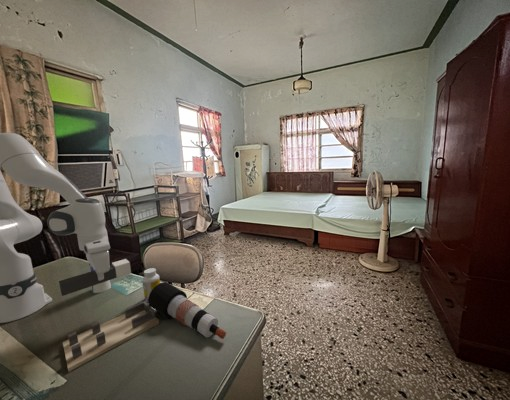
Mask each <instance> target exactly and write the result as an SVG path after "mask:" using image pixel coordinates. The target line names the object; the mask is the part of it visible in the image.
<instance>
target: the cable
mask: <svg viewBox="0 0 510 400" xmlns="http://www.w3.org/2000/svg"><path fill="white" fill-rule="evenodd" d="M187 296H188V295H187V293H186V292H185V291H183V290H181V289H180V288H178V287H176V286H174V285H173V284H172V283H169V282H166V281H162V282H160V284H158V285H157V286H155V287H154V288H153V290H152V291H151V293H150V295H149V298H148V302H147V303H148V304H149V305H150V306H151V307H152V308H153V309H154V311H156V312H158V313H159V314H161V315H162V316H163V317H165V318H166V319H169V320H172V319H176V320H177V321H178V322H180V323H181V324H182V325H184V326H187V327H189V328H190V329H193V330H194V331H196V332H197V333H200V334H201V335H203V336H204V337H205V338H207V339H208V338H210V337H212V335H214V336H217V337H219V339H222V340H223V339H225V337H226V335H227V332H226V331H225V330H224V329H222V328H221V327H219V326H218V325H219V320H218V318H216V317H214V316H213V315H211V314H210V312H207V311H205V310H204V309H203V308H201V307H200V306H199V305H197V304H196V303H195V302H193V301H191V300H190V299H188V297H187Z"/></svg>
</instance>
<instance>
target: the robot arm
mask: <svg viewBox="0 0 510 400" xmlns="http://www.w3.org/2000/svg"><path fill="white" fill-rule="evenodd" d="M1 168H2V170H3V171H4V172H5V174H7V176H8V177H9V178H10V179H11V180H12V181H14V182H16V183H17V184H20V185H23V186H25V187H31V188H40V189H45V190H50V191H52V192H55V193H56V194H59V195H60V196H61V197H62V198H63V199H64V200H65V201H66V202H67V203H68V204H69V205H67V206H65V207H61V208H60V209H57V210H55V211H54V210H53V211H51V213H50V214H49V215H48V217H47V228H48V229H49V231H50V232H51V233H53V234H54V235H56V236H60V237H62V236H63V237H64V236H69V235H72V234H73V235H74V234H76V237H77V242H78V248H79V251H82V252H84V254H85V257H87V258H86V259H87V260H86V261H88V264H89V263H90V265H91V266H92V267H93V270H94V271H95V272H96V273H97V278H98V280H99V281H100V280H103V279H104V273H105V272H108V271H109V268H110V266H111V265H110V263H111V262H110V251H109V250H110V249H111V245H110V241H109V236H108V230H107V228H106V220H107V219H106V214H105V209H104V206H103V204H102V203H101V201H100V199H97V198H92V197H91V198H90V197H88V196H86V195H85V194H84V192H83V191H82V190H80V188H79V187H78V186H77V185H76V184H75V183H74V182H72V180H71V179H70V178H69V177H67V176H66V175H65V174H63V173H62V172H60V171H58V170H57V169H56V168H54V167H53V166H52V165H50V163H49V162H47V161H46V159H45V158H44V157H43V156H42V154H40V152H39V151H38V150H37V149H36V148H35V146H33V145H32V143H30V142H29V141H28V140H27V139H26V138H25V137H23V135H21V134H18V133H15V132H0V324H4V323H9V322H13V321H16V320H19V319H22V318H24V317H27V316H30V315H32V314H34V313H35V312H37V311H39V310H41V309H42V308H44V306H45V305H48V304H50V303H51V302H53V298H52V297H51V296H50V295H48V294H47V293H46V291H45V290H44V286H43V285H42V284H41V283H38V278H37V274H36V273H35V272H34V268H33V263H32V258H31V257H30V256H29V254H25V253H23V252H22V253H21V252H18V251H17V249H16V248H15V247H14V245H16V244H18V243H22V242H26V241H28V240H30V239H32V238H34V237H36V236H37V235H40V233H42V230H43V222H42V220H41V219H40V218H39V217H37V216H36V215H32V214H30V213H29V212H27V211H25V210H24V209H23V208H22V207H21V206H20V205H19V204H18V203H17V202H16V201H15V199H14V197H13V195H12V193H11V191H10V189H9V187H8V184H7V181H6V180H5V176H4V175H3V172H2V170H1Z"/></svg>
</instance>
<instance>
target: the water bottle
mask: <svg viewBox="0 0 510 400" xmlns="http://www.w3.org/2000/svg"><path fill="white" fill-rule="evenodd" d="M85 257H86V256H85ZM86 259H87V257H86ZM88 266H89V267H90V272H91V271H94V270H93V267H92V266H91V265H90V263H89V262H88ZM111 280H112V279H111ZM111 280H108V281H105V282H102V283H99V284H97V285H94V286H91V292H92V293H94V294H100V293H103V292H106V291H108V290H110V289H111V288H112V287H111V286H112V281H111Z"/></svg>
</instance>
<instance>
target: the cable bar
mask: <svg viewBox="0 0 510 400" xmlns="http://www.w3.org/2000/svg"><path fill="white" fill-rule="evenodd" d="M131 274H132V268H131V262H130V261H129V260H128V259H127V258H124V259H121V260H120V259H119V260H118V261H114V262H113V261H112V262H111V265H110V268H109V271H108V272H105V273H104V279H103V280H100V281H99V280H98V278H97V273H96V272H95V271H91V270H90V271H89V272H84V273H82V274H79V275H75V276H70V277H68V278H65V279H62V280H59V281H58V283H59V289H60V294H61V296H62V297H63V296H67V295H70V294H72V293H75V292H76V293H77V292H78V291H81V290H84V289H88V288H90V287H91V288H92V286H94V285H97V284H99V283H102V282H105V281H108V280H114V279H119V278H122V277H125V276H127V275H131Z"/></svg>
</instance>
